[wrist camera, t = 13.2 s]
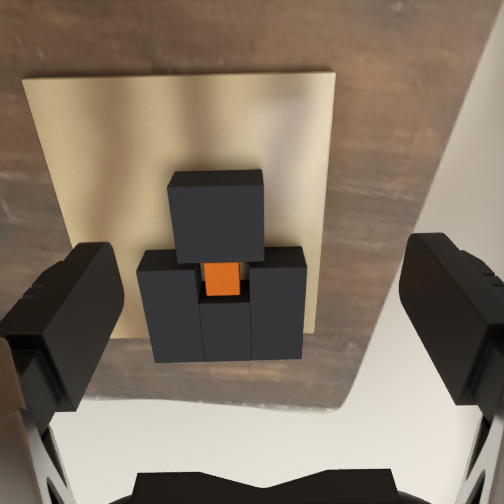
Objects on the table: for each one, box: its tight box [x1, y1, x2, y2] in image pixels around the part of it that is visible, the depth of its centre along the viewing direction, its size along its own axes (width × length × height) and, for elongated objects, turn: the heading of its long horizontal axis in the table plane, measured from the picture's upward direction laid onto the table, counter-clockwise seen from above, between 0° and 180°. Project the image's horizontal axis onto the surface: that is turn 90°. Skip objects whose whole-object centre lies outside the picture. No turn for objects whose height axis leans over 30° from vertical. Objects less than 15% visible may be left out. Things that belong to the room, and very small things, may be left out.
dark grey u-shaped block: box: [136, 246, 308, 363], centre depth 30 cm, size 12×9×3 cm
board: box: [22, 71, 336, 338], centre depth 28 cm, size 19×21×1 cm
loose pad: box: [167, 169, 264, 296], centre depth 26 cm, size 6×8×3 cm
